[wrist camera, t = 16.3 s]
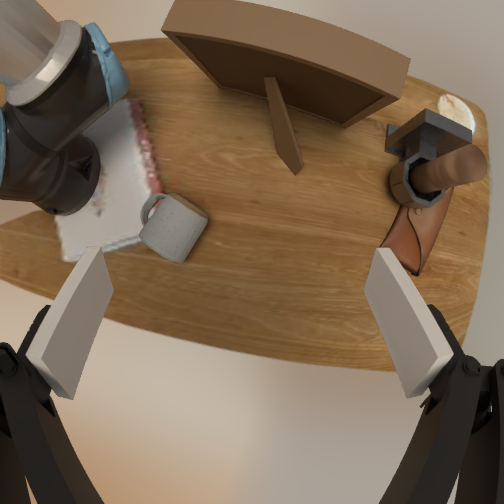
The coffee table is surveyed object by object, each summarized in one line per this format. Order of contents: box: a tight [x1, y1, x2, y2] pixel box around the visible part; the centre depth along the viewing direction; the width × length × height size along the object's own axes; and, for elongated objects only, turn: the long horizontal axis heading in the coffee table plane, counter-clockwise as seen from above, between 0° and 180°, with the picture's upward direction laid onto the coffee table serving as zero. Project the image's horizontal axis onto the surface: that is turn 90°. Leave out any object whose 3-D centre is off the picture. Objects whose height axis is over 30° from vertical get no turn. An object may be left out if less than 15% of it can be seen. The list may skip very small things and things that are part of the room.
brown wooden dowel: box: [407, 144, 487, 196], centre depth 32 cm, size 4×4×16 cm
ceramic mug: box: [139, 192, 209, 264], centre depth 42 cm, size 11×8×8 cm
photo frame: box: [161, 0, 411, 175], centre depth 32 cm, size 15×22×25 cm
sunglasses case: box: [380, 187, 454, 276], centre depth 43 cm, size 18×7×7 cm
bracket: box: [385, 108, 472, 209], centre depth 37 cm, size 14×8×14 cm, turn 168°
